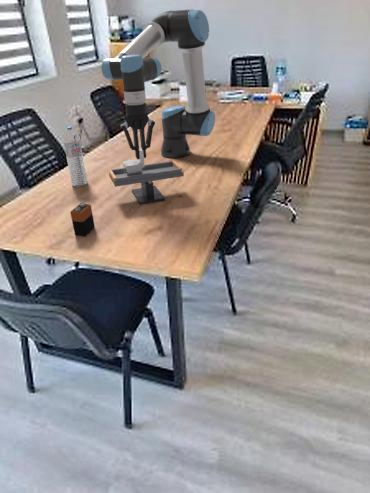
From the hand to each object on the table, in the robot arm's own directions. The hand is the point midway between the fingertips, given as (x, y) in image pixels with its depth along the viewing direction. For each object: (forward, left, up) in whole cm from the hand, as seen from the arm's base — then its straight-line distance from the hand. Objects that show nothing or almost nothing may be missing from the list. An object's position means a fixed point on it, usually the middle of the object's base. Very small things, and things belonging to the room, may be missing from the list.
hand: (142, 166), depth 155 cm
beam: (-1, 0, -5) cm, 5 cm away
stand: (-1, 0, -13) cm, 13 cm away
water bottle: (+23, -26, -13) cm, 37 cm away
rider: (+4, 0, -3) cm, 5 cm away
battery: (+27, +20, -13) cm, 36 cm away
